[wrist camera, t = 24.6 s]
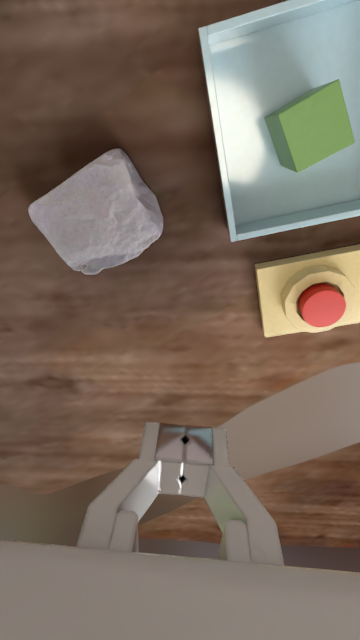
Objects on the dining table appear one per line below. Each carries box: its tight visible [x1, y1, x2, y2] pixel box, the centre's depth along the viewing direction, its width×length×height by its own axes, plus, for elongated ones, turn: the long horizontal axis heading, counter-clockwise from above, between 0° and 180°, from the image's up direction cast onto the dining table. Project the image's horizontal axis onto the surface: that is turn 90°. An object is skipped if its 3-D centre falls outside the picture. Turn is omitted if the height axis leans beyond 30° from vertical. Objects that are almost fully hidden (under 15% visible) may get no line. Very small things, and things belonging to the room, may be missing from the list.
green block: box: [264, 79, 355, 173], centre depth 27 cm, size 4×4×6 cm
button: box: [298, 284, 346, 327], centre depth 35 cm, size 4×4×2 cm
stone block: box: [28, 149, 163, 275], centre depth 34 cm, size 12×5×10 cm
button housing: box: [255, 244, 360, 337], centre depth 37 cm, size 12×9×4 cm
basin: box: [198, 0, 360, 242], centre depth 28 cm, size 15×16×4 cm
